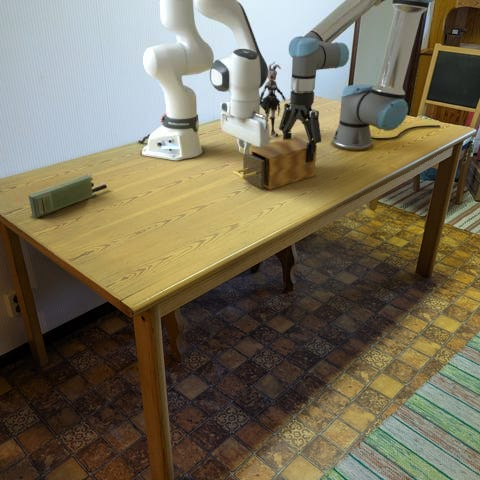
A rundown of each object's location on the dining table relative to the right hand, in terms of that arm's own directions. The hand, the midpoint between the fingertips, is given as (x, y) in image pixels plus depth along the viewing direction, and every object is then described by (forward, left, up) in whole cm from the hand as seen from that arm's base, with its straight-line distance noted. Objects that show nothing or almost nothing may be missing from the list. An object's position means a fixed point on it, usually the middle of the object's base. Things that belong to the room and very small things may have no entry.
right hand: (297, 156), depth 171 cm
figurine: (-25, -32, -6) cm, 41 cm away
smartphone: (-64, -43, -6) cm, 77 cm away
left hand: (+22, -5, +6) cm, 24 cm away
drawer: (+13, -3, -5) cm, 14 cm away
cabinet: (+6, -1, -6) cm, 9 cm away
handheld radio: (+65, -35, -6) cm, 75 cm away
